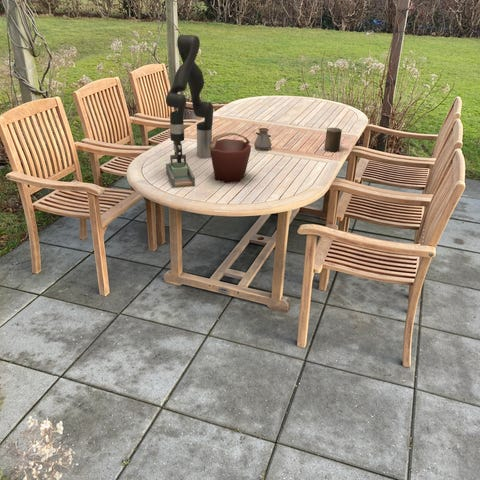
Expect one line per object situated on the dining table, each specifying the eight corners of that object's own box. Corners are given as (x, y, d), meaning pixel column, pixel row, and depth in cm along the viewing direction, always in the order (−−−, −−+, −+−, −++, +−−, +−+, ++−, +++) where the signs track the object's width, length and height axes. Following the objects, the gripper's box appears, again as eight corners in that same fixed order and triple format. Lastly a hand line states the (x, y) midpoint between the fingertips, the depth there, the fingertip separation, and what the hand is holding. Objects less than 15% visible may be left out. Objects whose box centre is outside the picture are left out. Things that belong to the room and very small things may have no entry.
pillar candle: (337, 153, 323) (340, 130, 316) (322, 151, 326) (325, 128, 318) (340, 148, 331) (343, 126, 324) (325, 146, 334) (328, 124, 327)
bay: (187, 170, 290) (186, 162, 287) (194, 185, 270) (194, 177, 268) (166, 171, 287) (165, 163, 284) (172, 187, 267) (172, 179, 265)
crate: (184, 169, 287) (183, 151, 282) (187, 176, 279) (187, 157, 274) (169, 170, 285) (169, 152, 280) (172, 177, 277) (171, 158, 271)
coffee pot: (257, 144, 333) (258, 122, 326) (273, 147, 330) (275, 124, 322) (246, 154, 316) (246, 131, 308) (263, 157, 312) (264, 134, 305)
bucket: (211, 186, 271) (211, 141, 259) (202, 171, 289) (202, 128, 277) (254, 182, 277) (256, 138, 265) (243, 168, 296) (244, 126, 283)
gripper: (186, 135, 265) (187, 164, 273) (181, 127, 277) (182, 155, 285) (172, 135, 263) (173, 165, 271) (168, 127, 275) (169, 156, 283)
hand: (178, 160), depth 278 cm, fingers open, 7 cm apart
